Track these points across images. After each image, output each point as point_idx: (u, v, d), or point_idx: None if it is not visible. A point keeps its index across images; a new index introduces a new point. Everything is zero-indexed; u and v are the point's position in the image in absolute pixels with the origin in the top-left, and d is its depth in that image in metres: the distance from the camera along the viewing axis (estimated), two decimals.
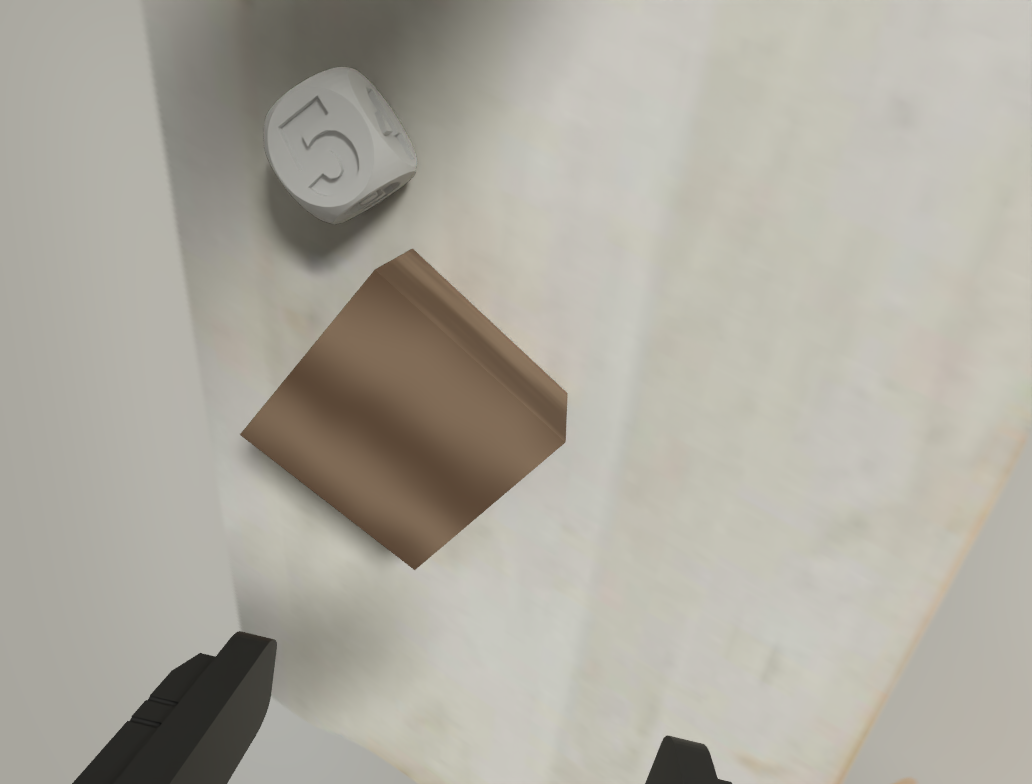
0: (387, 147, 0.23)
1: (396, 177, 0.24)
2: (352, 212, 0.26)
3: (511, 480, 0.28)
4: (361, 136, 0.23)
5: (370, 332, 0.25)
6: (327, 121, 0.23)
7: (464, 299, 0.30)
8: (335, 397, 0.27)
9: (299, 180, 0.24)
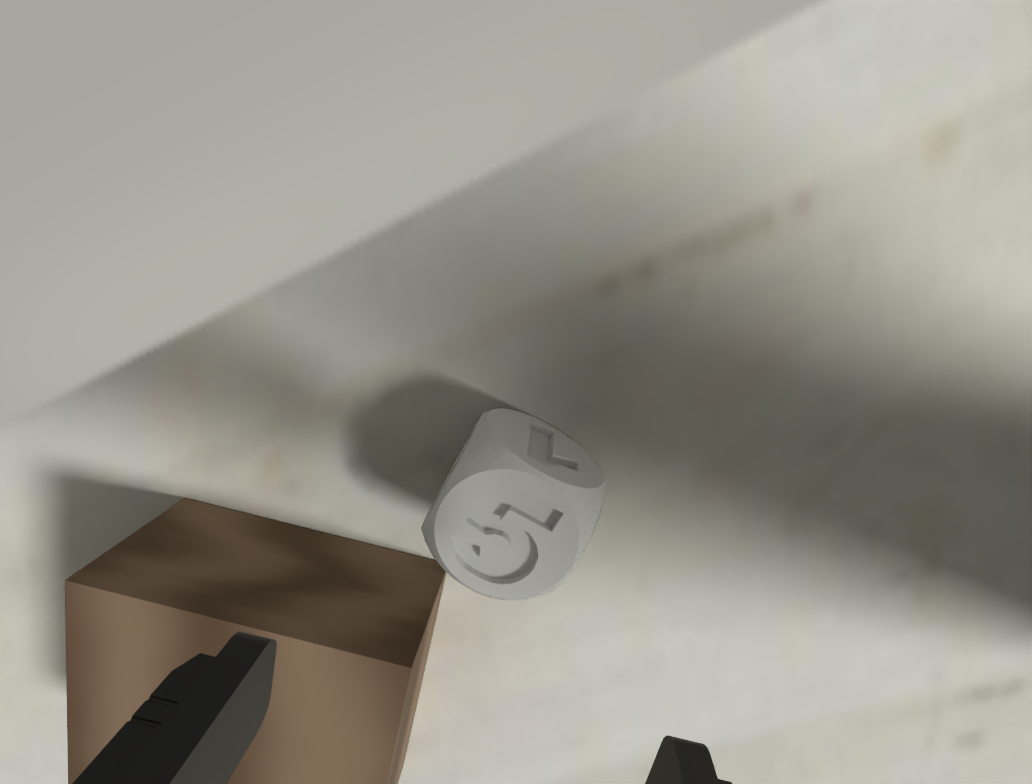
0: None
1: None
2: None
3: None
4: (546, 574, 0.18)
5: (332, 687, 0.18)
6: (541, 533, 0.17)
7: (430, 639, 0.24)
8: None
9: (454, 523, 0.18)
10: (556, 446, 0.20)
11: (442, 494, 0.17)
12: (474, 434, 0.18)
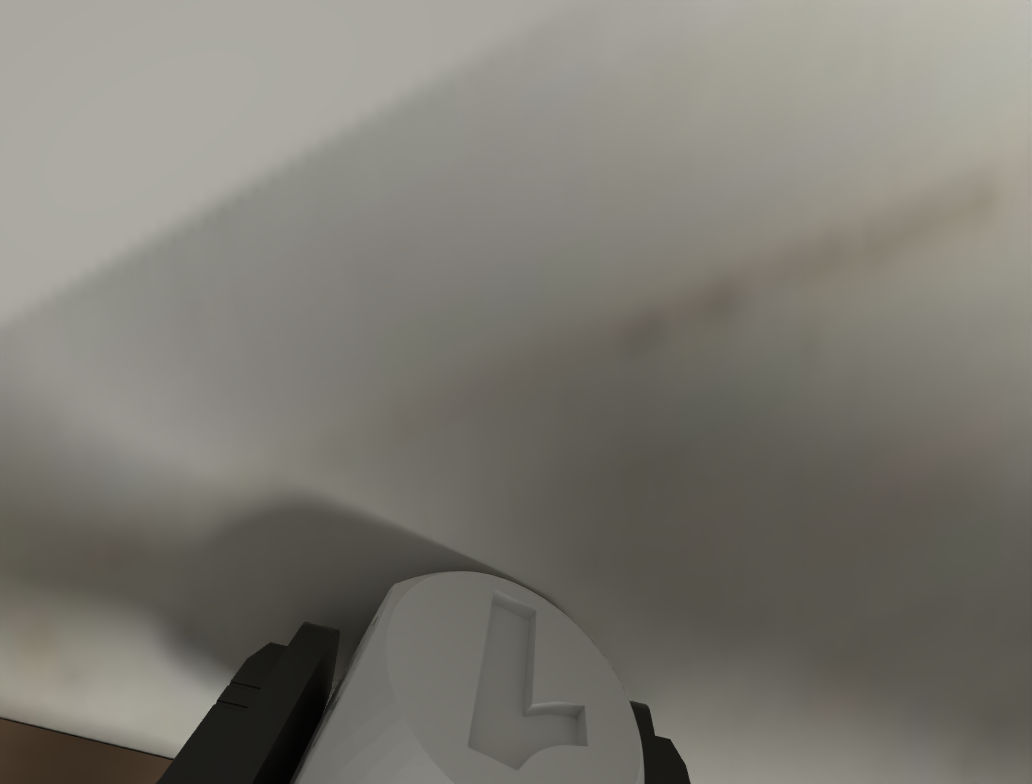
0: None
1: None
2: None
3: None
4: None
5: None
6: None
7: None
8: None
9: None
10: (540, 664, 0.10)
11: None
12: (351, 685, 0.08)
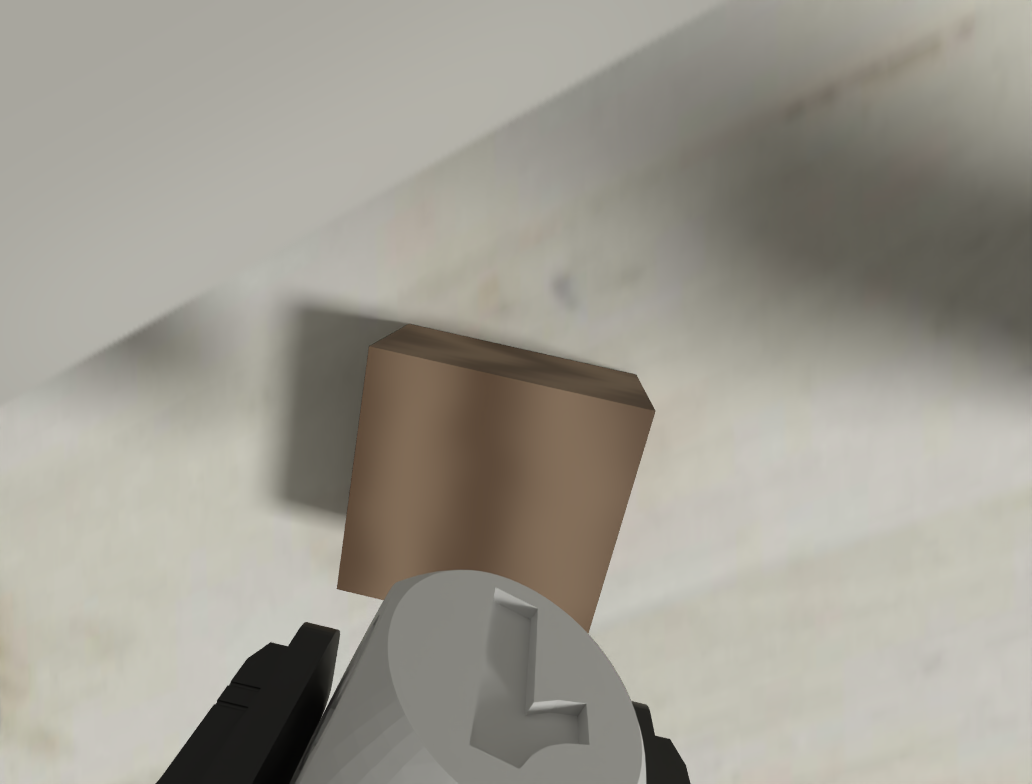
0: None
1: None
2: None
3: None
4: None
5: (585, 433, 0.22)
6: None
7: None
8: (488, 429, 0.23)
9: None
10: (542, 663, 0.10)
11: None
12: (353, 683, 0.08)
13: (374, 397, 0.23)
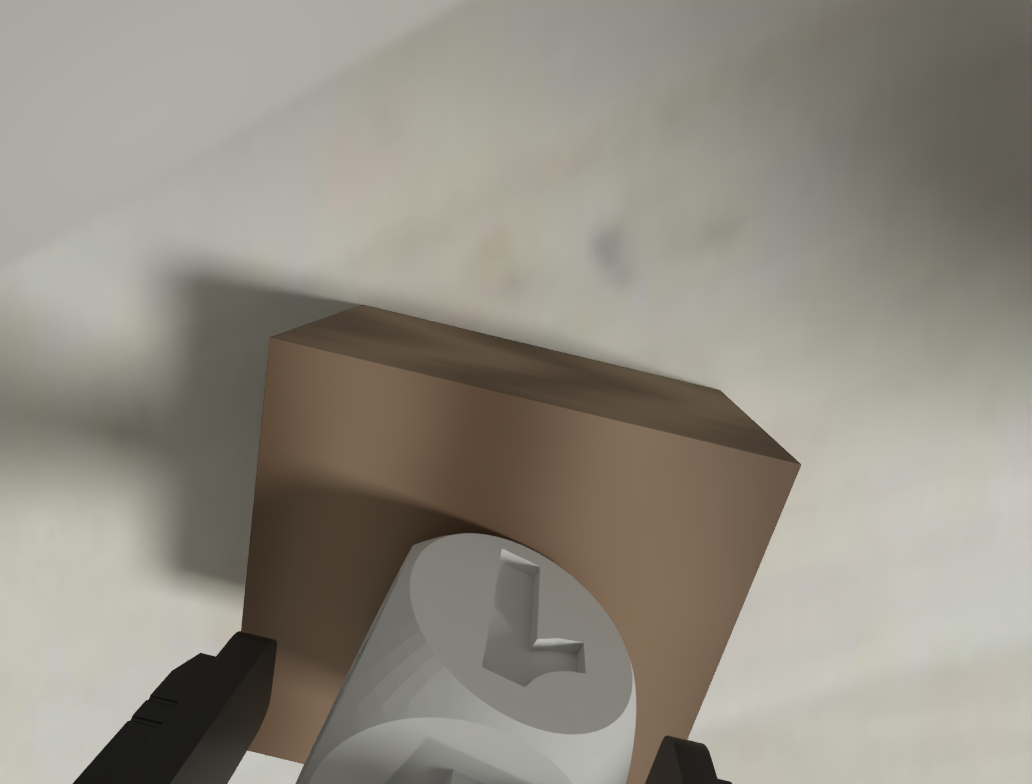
0: None
1: None
2: None
3: None
4: None
5: (667, 502, 0.12)
6: None
7: None
8: (491, 491, 0.13)
9: None
10: (543, 609, 0.11)
11: (314, 758, 0.09)
12: (381, 620, 0.09)
13: (283, 431, 0.12)
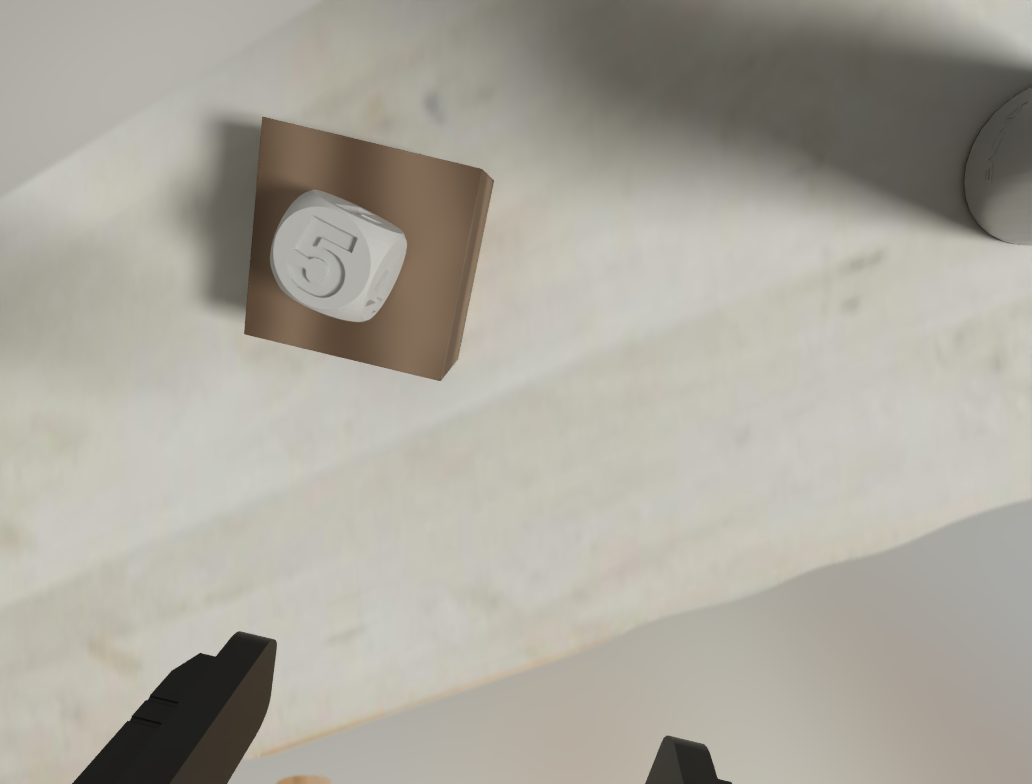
0: (361, 307, 0.27)
1: (347, 320, 0.27)
2: None
3: (383, 362, 0.32)
4: (352, 287, 0.26)
5: (430, 189, 0.29)
6: (345, 255, 0.25)
7: (480, 242, 0.35)
8: (357, 187, 0.29)
9: (286, 252, 0.26)
10: (370, 216, 0.28)
11: (276, 230, 0.25)
12: (301, 195, 0.26)
13: (268, 161, 0.29)
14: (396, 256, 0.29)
